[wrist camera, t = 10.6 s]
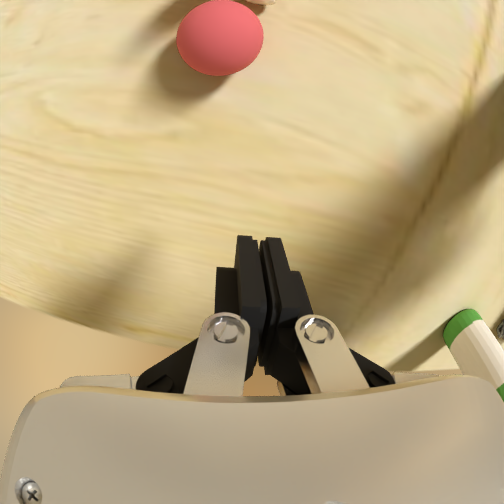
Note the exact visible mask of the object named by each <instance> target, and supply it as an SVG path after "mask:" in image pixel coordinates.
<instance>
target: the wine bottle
mask: <svg viewBox="0 0 504 504" xmlns="http://www.w3.org/2000/svg"><path fill="white" fill-rule="evenodd" d="M443 338H444V341H445V343H446V345H447V346H448V348H449V350H450V352H451V354H452V355H453V357H454V359H455V361H456V362H457V364H458V366H459V368H460V370H461V371H462V373H463V375H470V376H476V377H479V378H482V379H484V380H487V381H488V382H489V383H491V384H492V385H493V387H494V388H495V389H496V391H497V392H498V394H499V395H500V397H501V398H502V400H503V402H504V350H503V349H502V347H501V345H500V344H499V342H498V341H497V339H496V338H495V336H494V335H493V333H492V332H491V331H490V329H489V328H488V326H487V325H486V323H485V322H484V321H483V319H482V318H481V317H480V315H479V314H478V313H477V312H476V311H475V310H473V309H466V310H463V311H461V312H460V313H458V314H457V315H456V316H454V317H453V318H452V319H451V320H450V322H449V323H448V324H447V326H446V327H445V330H444V333H443Z"/></svg>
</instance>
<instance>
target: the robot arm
mask: <svg viewBox="0 0 504 504" xmlns="http://www.w3.org/2000/svg"><path fill="white" fill-rule="evenodd" d="M257 356H258V361H259V366H264V370H265V375H271V376H272V377H274V378H275V379H277V380H278V381H277V386H278V390H279V393H280V396H247V397H246V396H242V395H243V387H244V382H245V381H246V380H247V379H248V378H250V377H251V376H252V374H253V369H254V366H255V365H256V361H257ZM0 504H504V402H503V400H502V398H501V397H500V395H499V394H498V392H497V391H496V389H495V388H494V387H493V385H492V384H491V383H489V382H488V381H487V380H484V379H482V378H479V377H476V376H470V375H445V376H444V375H443V376H439V375H434V374H417V373H402V372H394V373H393V374H392V375H391V374H390V373H389V372H388V371H387V370H385V369H384V368H382V367H380V366H379V365H377V364H375V363H374V362H372V361H370V360H368V359H367V358H365V357H363V356H362V355H360V354H358V353H357V352H355V351H353V350H352V349H350V348H348V346H347V344H346V343H345V341H344V339H343V337H342V335H341V334H340V332H339V330H338V328H337V327H336V325H335V324H334V323H333V322H332V321H330V320H329V319H327V318H325V317H323V316H319V315H314V314H313V311H312V308H311V305H310V302H309V299H308V295H307V292H306V289H305V286H304V283H303V280H302V277H301V274H300V272H299V271H290V268H289V265H288V261H287V258H286V254H285V251H284V247H283V244H282V241H281V238H272V237H266V240H265V241H263V240H261V242H260V247H259V249H258V243H257V240H252V236H242V235H238V236H237V245H236V255H235V265H234V268H226V267H217V271H216V290H215V313H214V315H211V316H209V317H208V318H207V319H206V320H205V321H204V323H203V325H202V328H201V332H200V335H199V337H198V338H197V339H195V340H194V341H192V342H191V343H189V344H188V345H186V346H184V347H183V348H181V349H180V350H178V351H177V352H175V353H173V354H172V355H170V356H169V357H167V358H166V359H164V360H162V361H161V362H159V363H157V364H156V365H154V366H153V367H151V368H149V369H148V370H146V371H145V372H144V373H142V374H141V375H140V376H138V377H131V376H130V374H122V375H102V376H75V377H70V378H68V379H67V380H65V381H64V382H63V383H62V384H61V386H60V388H56V389H51V390H48V391H45V392H42V393H40V394H38V395H36V396H34V397H33V398H32V399H31V400H30V401H29V402H28V404H27V405H26V406H25V407H24V409H23V411H22V413H21V415H20V416H19V419H18V421H17V423H16V425H15V428H14V430H13V433H12V436H11V439H10V442H9V446H8V449H7V453H6V456H5V460H4V464H3V469H2V474H1V480H0Z"/></svg>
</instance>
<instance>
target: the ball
mask: <svg viewBox="0 0 504 504" xmlns="http://www.w3.org/2000/svg"><path fill="white" fill-rule="evenodd" d="M176 41H177V48H178V51H179V53H180V55H181V57H182V59H183V60H184V61H185V62H186V63H187V64H188V65H189V66H190V67H191V68H193V69H194V70H196V71H198V72H201V73H203V74H207V75H213V76H224V75H229V74H233V73H236V72H238V71H240V70H242V69H244V68H246V67H247V66H248V65H250V64H251V63H252V62H253V61H254V60H255V58H256V57H257V55H258V54H259V52H260V50H261V48H262V44H263V29H262V25H261V23H260V21H259V19H258V17H257V16H256V15H255V14H254V13H253V12H252V11H251V10H250V9H249V8H247V7H246V6H244V5H242V4H240V3H237V2H234V1H230V0H214V1H209V2H206V3H203V4H201V5H199V6H197V7H195V8H194V9H192V10H191V11H190V12H189V13H188V14H187V15H186V16H185V17H184V18H183V20H182V21H181V23H180V25H179V28H178V31H177V37H176Z"/></svg>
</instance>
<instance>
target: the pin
mask: <svg viewBox="0 0 504 504" xmlns="http://www.w3.org/2000/svg"><path fill="white" fill-rule="evenodd" d="M245 1H247V2H250V3H254V4H260V5H272V4H275V0H245Z"/></svg>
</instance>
